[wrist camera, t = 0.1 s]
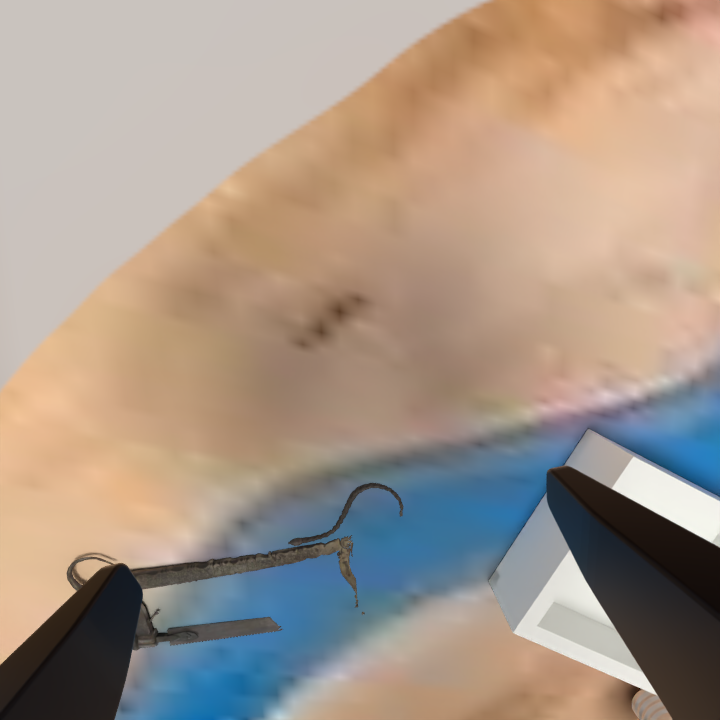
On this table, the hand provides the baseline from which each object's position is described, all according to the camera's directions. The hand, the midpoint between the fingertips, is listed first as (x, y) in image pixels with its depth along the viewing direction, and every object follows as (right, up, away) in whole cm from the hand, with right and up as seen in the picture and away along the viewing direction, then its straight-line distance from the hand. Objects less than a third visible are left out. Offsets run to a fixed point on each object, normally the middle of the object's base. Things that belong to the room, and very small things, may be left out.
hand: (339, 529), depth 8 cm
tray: (+17, -9, +18) cm, 26 cm away
